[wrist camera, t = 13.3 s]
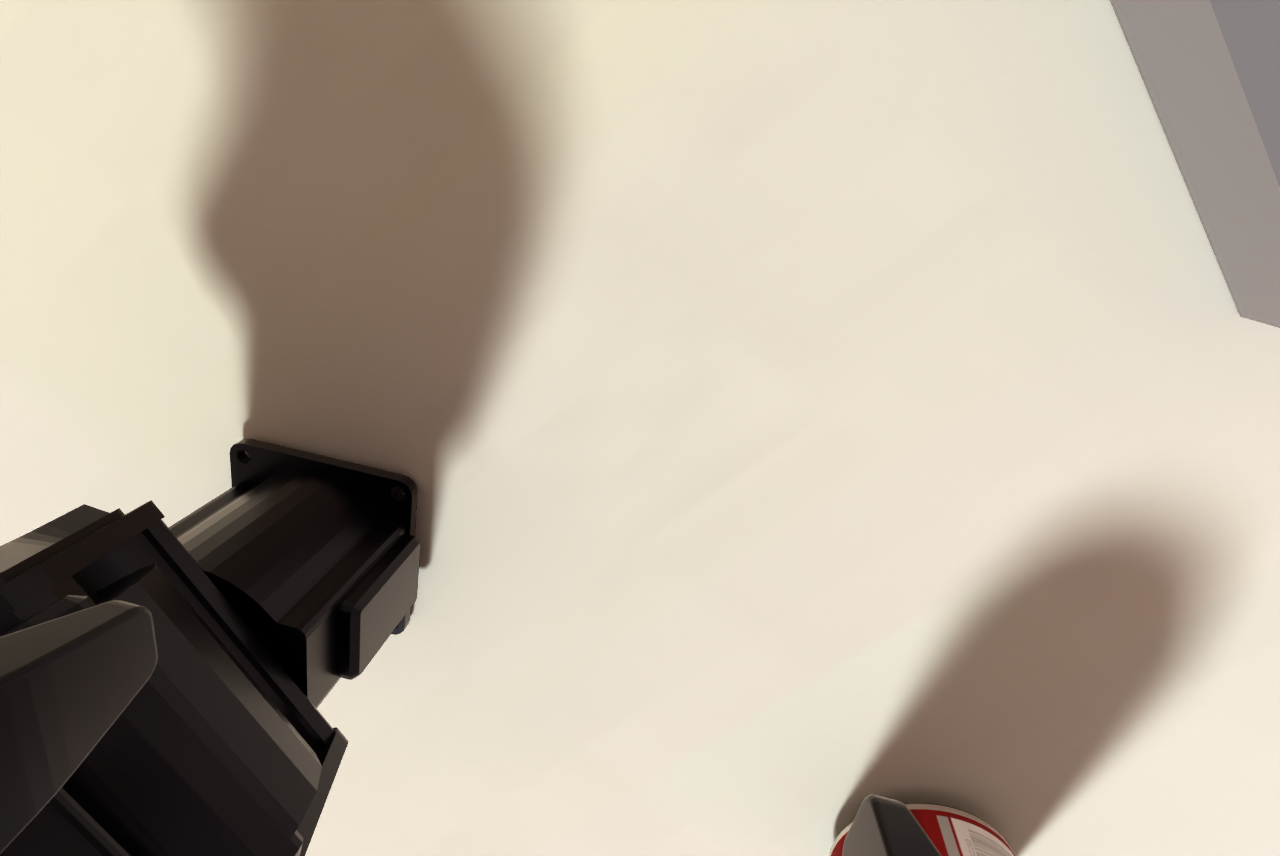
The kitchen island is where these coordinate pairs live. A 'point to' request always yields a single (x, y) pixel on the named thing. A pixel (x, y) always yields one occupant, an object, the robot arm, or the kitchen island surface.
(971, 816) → the soda can
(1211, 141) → the socket board
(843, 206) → the kitchen island surface
